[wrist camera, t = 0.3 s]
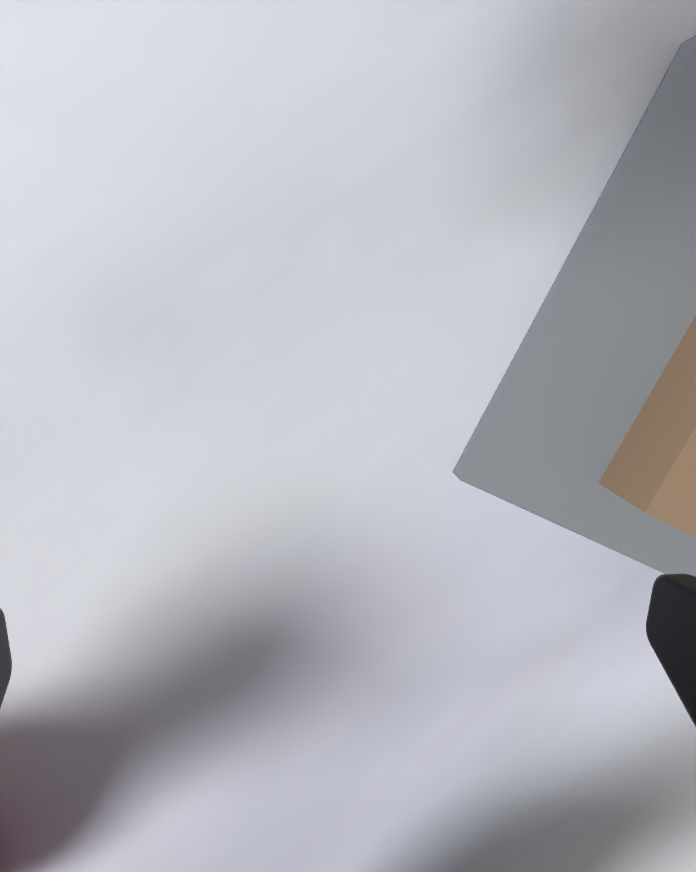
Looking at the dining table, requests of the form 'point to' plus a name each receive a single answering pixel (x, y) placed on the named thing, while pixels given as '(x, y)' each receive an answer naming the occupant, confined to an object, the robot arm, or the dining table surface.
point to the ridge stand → (613, 360)
